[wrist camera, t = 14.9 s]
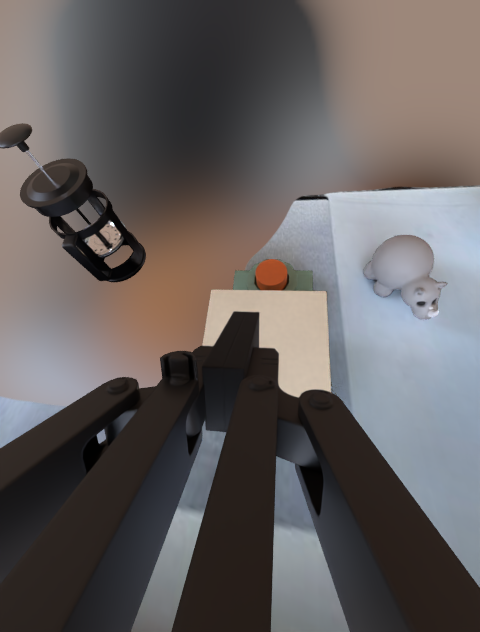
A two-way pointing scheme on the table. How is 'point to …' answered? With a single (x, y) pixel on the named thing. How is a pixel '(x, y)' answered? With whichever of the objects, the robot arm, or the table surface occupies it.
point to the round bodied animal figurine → (406, 273)
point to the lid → (282, 332)
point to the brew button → (271, 275)
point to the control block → (294, 279)
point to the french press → (68, 195)
